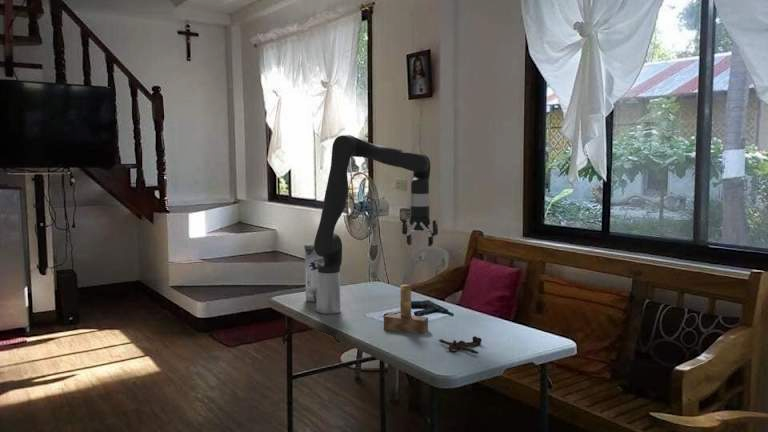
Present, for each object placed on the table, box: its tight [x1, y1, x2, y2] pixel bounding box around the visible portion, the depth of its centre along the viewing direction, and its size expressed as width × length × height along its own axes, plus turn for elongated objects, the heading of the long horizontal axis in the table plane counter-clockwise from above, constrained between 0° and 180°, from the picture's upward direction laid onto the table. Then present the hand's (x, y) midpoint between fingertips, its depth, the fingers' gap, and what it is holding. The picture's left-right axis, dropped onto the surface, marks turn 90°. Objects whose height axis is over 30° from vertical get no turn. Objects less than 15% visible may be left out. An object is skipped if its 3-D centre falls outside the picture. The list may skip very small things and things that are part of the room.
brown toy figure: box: [438, 336, 482, 355], centre depth 210 cm, size 18×4×14 cm
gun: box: [411, 299, 455, 317], centre depth 261 cm, size 24×3×15 cm
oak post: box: [399, 284, 412, 318], centre depth 232 cm, size 4×4×12 cm
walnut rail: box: [383, 312, 429, 335], centre depth 232 cm, size 16×5×5 cm, turn 67°
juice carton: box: [304, 243, 323, 303], centre depth 281 cm, size 9×10×27 cm
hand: (419, 245), depth 244 cm, fingers open, 8 cm apart
